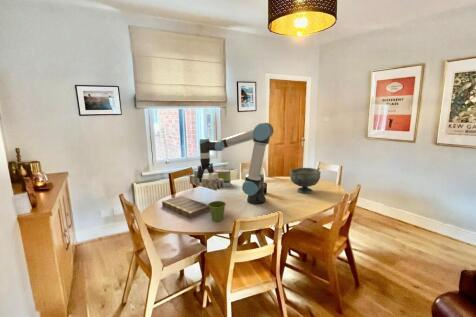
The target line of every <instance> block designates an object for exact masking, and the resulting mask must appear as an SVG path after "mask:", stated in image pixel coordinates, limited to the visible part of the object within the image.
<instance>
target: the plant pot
mask: <svg viewBox="0 0 476 317" xmlns="http://www.w3.org/2000/svg"><path fill="white" fill-rule="evenodd" d="M226 204H227V203H226V202H225V201H222V200H215V201H211V202H209V203H208V204H207V205H208V206H209V207H210V211H209V212H210V214H211V218H212V221H213V222H221V221H223V220H224V215H225V214H224V213H225V207H226Z"/></svg>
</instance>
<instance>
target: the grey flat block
mask: <svg viewBox="0 0 476 317" xmlns="http://www.w3.org/2000/svg"><path fill="white" fill-rule="evenodd" d="M161 206H162V208H164V209H168V210H170V211H172V212H175V213H177V214H179V215H181V216H183V217H185V218H188V219H190V220H191V219H194V218H196V217H198V216H201V215H204V214H207V213H209V212H211V211H210V207H209V206H208V204H205V203H203V202H201V201H200V202H199V201H197V200H195V199H191V198H188V197H186V196H184V195H178V196H176V197H173V198H168V199H166V200H164V199H163V200H162V201H161Z"/></svg>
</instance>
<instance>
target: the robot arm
mask: <svg viewBox="0 0 476 317" xmlns="http://www.w3.org/2000/svg"><path fill="white" fill-rule="evenodd" d="M273 134H274V126H272V124H270V123H268V122H263V123H262V122H261V123H258V124H257V125H255V126H254V128H253V129H250V130H247V131H244V132H240V133H238V134H235V135H232V136H228V137H225V138H222V139H218V140H210V139H209V138H208V137H205V138H203V137H202V138H199V155H200V158H199V159H200V165H197V170H198V173H197V178H199V182H200V186H199V187H201V186H202V188H204V187H203V179H202V176H203V175H204V172H205V170H207V172H208V175H209V174H210V173H213V172H215V170H214V167H213V166H214V165H213V164H214V163H211V159H210V157H211V155H210V154H211V153H210V152H211V151H212V152H214V151H215V152H222V151H223V150H224V149H226V148H229V147H233V146H235V145H236V146H237V145H239V144H240V145H241V144H242V143H243V144H244V143H247V142H250V141H252V142H253V147H252V148H253V149H252V154H251V160H250V162H249V163H250V164H249V170H248V172H247V174H246V175H245V179H244V182H243V183H242V185H241V190H242V191H243V193H244V194H245V195H247V199H246V201H247V203H249V204H252V205H261V204H265V203H266V202H267V199H266V195H265V191H264V190H265V185H264V184H265V182H264V180H265V177H264V174H263V173H261V170H262V166H263V161H264V158H265V157H264V156H265V152H266V148H267V145H269V143H270V138H271V137H272V136H273Z"/></svg>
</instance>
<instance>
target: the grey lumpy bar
mask: <svg viewBox="0 0 476 317" xmlns="http://www.w3.org/2000/svg"><path fill="white" fill-rule="evenodd" d="M188 178H189V184H191V185H194V186H198V187H202V186H200V182H199V178H197V176H194V173H193V174H189V177H188ZM202 179H203V187H202V188H206V189H209V190H213V191H216V192H217V191H218V190H221V189H224V188H225V186H224V179H221V178H218V179H216V180H211V179H209V174H208V175H207V174H203V176H202Z"/></svg>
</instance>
